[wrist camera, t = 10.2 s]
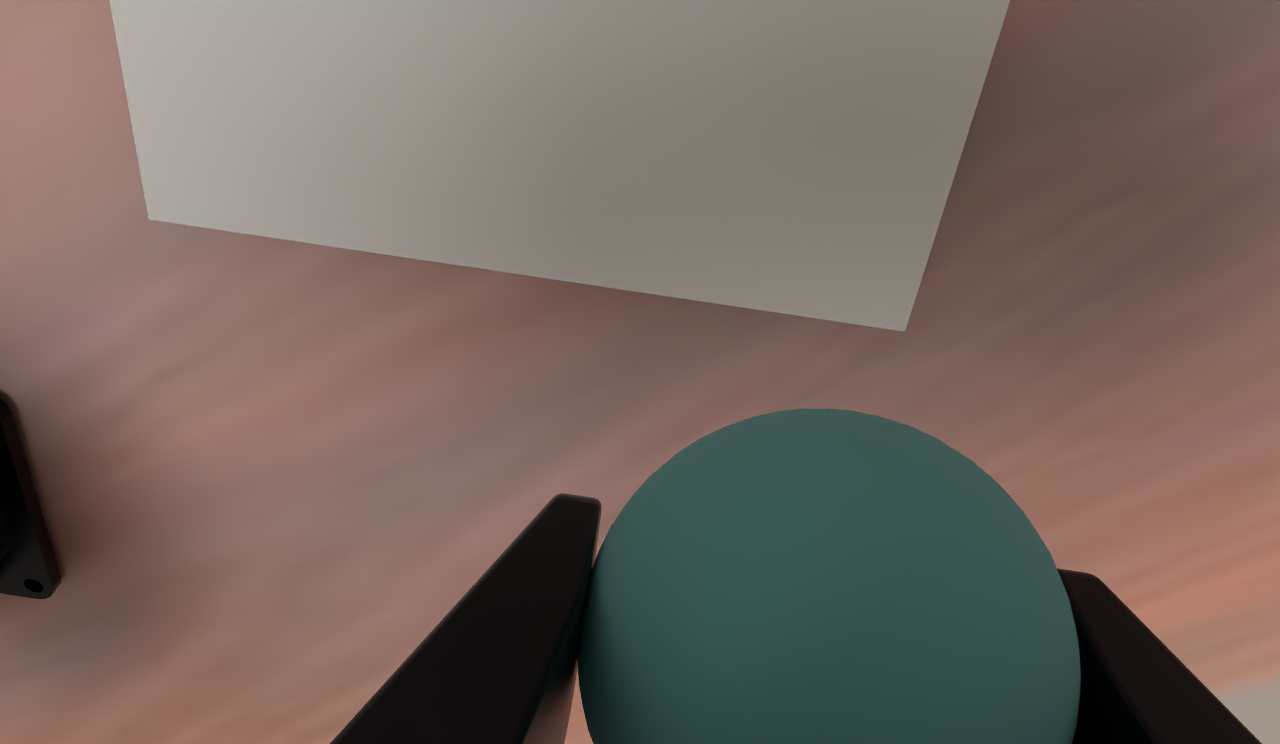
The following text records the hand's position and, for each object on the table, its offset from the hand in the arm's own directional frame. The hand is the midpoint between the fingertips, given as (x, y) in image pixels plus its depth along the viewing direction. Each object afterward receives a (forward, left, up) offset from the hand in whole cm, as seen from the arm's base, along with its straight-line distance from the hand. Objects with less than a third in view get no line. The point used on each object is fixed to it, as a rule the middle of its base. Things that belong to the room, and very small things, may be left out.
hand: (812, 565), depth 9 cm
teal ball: (0, 0, +1) cm, 1 cm away
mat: (0, +4, -11) cm, 12 cm away
